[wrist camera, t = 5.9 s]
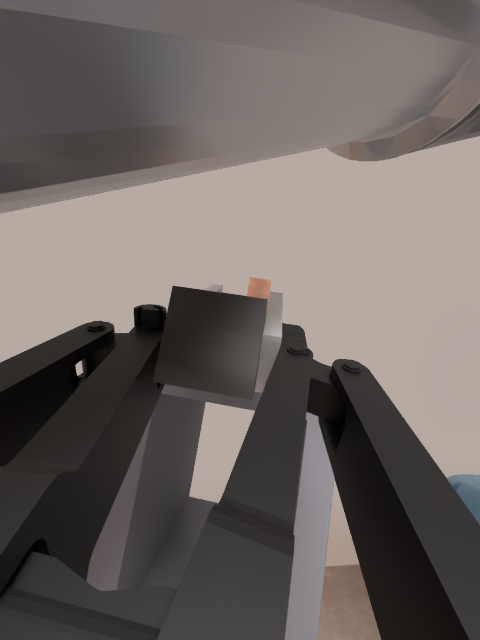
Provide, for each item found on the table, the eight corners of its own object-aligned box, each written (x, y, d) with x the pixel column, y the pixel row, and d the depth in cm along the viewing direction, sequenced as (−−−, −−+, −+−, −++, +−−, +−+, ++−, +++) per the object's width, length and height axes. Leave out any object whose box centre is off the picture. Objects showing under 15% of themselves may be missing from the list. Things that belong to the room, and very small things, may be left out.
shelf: (267, 634, 31) (300, 375, 36) (275, 1034, 13) (343, 390, 17) (153, 604, 33) (198, 358, 37) (11, 923, 14) (135, 354, 18)
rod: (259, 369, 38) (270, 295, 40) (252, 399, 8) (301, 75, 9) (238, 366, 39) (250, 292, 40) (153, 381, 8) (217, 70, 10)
